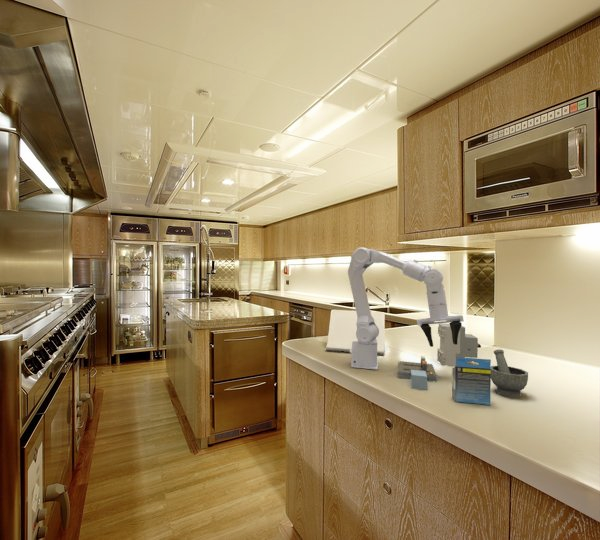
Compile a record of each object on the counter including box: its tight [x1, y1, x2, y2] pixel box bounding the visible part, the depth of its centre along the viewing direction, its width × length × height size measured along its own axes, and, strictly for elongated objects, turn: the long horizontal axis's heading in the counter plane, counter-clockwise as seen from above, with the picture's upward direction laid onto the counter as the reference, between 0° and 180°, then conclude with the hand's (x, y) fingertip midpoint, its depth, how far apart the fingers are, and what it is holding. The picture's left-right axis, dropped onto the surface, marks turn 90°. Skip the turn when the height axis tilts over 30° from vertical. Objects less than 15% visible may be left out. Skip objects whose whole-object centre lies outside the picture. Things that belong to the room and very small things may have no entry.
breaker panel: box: [397, 360, 438, 383], centre depth 113 cm, size 12×14×2 cm
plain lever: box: [420, 355, 426, 366], centre depth 116 cm, size 1×3×3 cm, turn 164°
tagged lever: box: [422, 360, 428, 371], centre depth 110 cm, size 1×3×3 cm, turn 164°
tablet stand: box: [325, 309, 386, 355], centre depth 147 cm, size 18×25×17 cm
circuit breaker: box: [436, 323, 482, 367], centre depth 127 cm, size 8×14×15 cm, turn 78°
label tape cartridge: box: [451, 357, 492, 406], centre depth 90 cm, size 9×4×12 cm, turn 77°
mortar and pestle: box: [490, 349, 529, 399], centre depth 97 cm, size 11×9×12 cm
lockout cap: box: [410, 370, 428, 391], centre depth 101 cm, size 4×6×4 cm
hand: (443, 345), depth 109 cm, fingers open, 7 cm apart
